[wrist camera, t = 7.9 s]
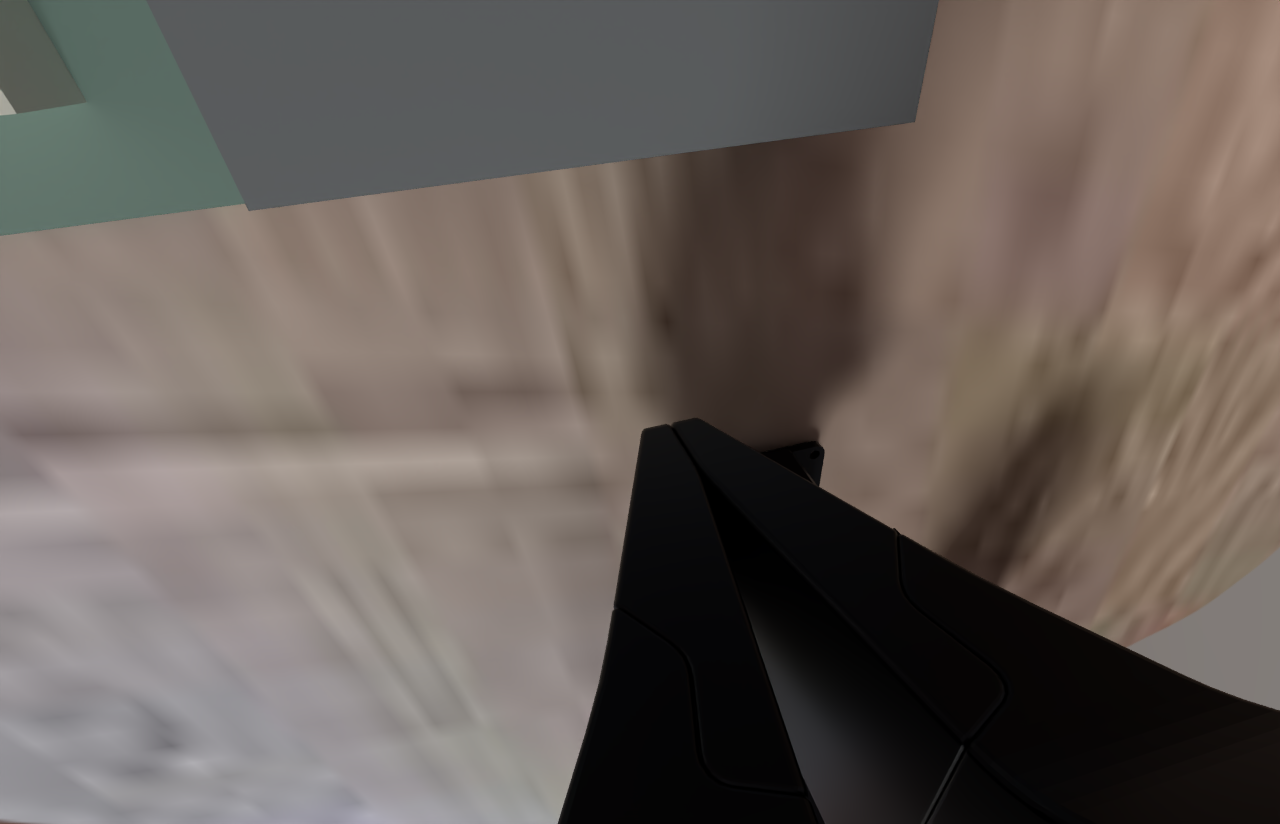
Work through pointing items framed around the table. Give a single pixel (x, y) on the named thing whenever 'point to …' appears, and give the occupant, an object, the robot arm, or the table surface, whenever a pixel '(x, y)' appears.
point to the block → (31, 64)
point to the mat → (109, 129)
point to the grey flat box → (526, 83)
